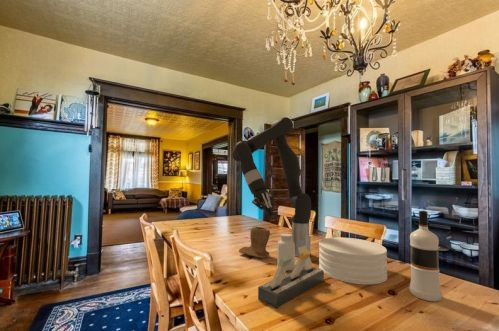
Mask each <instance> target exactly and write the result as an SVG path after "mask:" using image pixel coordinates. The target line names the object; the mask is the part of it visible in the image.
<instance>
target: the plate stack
mask: <svg viewBox="0 0 499 331" xmlns="http://www.w3.org/2000/svg"><path fill="white" fill-rule="evenodd" d="M387 251H388V250H387V248H386V247H385V246H383V245H381V244H379V243H376V242H373V241H370V240H366V239H365V240H364V239H361V238H352V237H341V236H340V237H337V236H335V237H327V238H326V237H325V238H321V239H320V240H319V241H318V252H319V253H318V257H319V258H318V263H319V264H318V269H320V270H323V271H324V275H326V276H327V277H329V278H332V279H334V280H337V281H342V282H345V283H349V284H357V285H377V284H382V283H385V282H386V281H387V280H388V262H387V260H388V256H387V255H388V254H387V253H388V252H387Z"/></svg>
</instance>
